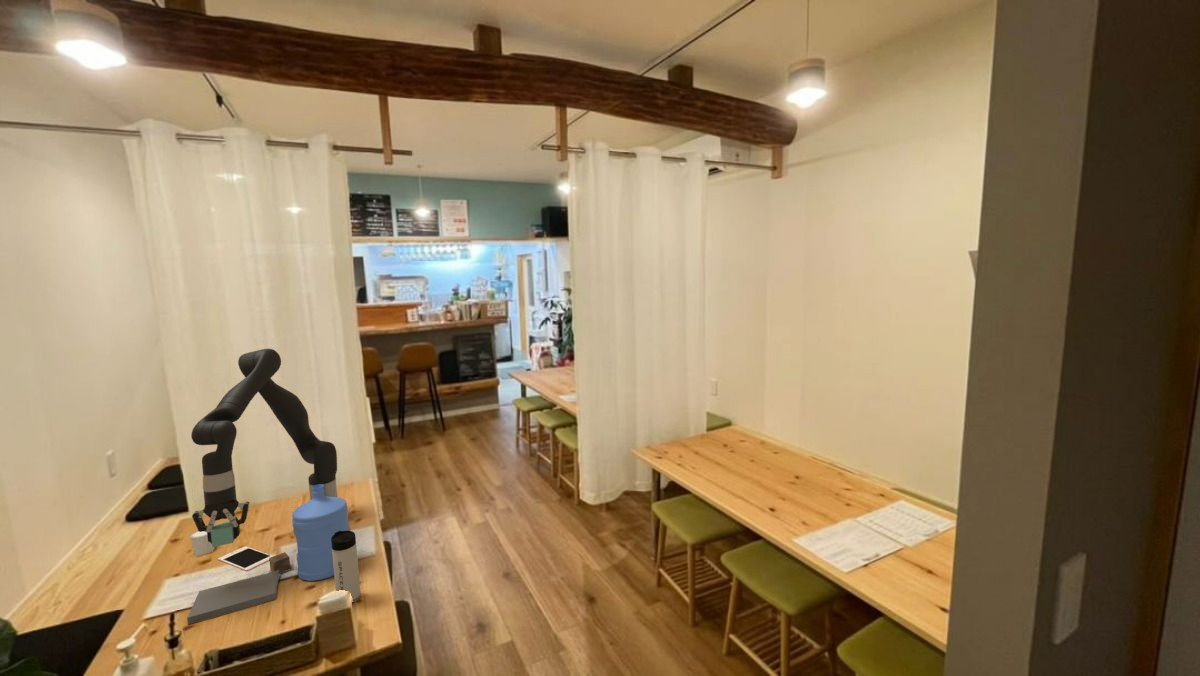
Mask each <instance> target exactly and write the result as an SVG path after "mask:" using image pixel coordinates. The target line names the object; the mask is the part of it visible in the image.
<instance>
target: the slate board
mask: <svg viewBox="0 0 1200 676" xmlns="http://www.w3.org/2000/svg"><path fill="white" fill-rule="evenodd" d="M279 580H280V574H279V570H277V571H274V572H271V571H270V572H266V573H262V574H258V575H256V576H251V577H249V578H248V577H247V578H244V579H240V580H236V581H233V582H229V583H225V584H221V585H218V586H214V587H210V588H206V589H202V590H199V592H198V593H197V595H196V598H195V600H194V602H193V604H192V606H191V609H190V611H189V614H188V615H187V618H186V619H187V625H192V624H195V623H199V622H202V621H206V620H209V619H213V618H217V617H220V616H222V615H225V614H226V615H227V614H230V613H234V612H237V611H240V610H243V609H247V608H250V607H253V606H257V605H260V604H265V603H268V602H271V601H274V600H276V597H277V591H278V586H279Z"/></svg>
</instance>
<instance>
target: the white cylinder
mask: <svg viewBox="0 0 1200 676" xmlns="http://www.w3.org/2000/svg"><path fill="white" fill-rule="evenodd" d="M189 538H190V542H191V546H192V550H193V554H194V556H198V557H200V556H204V555H207V554H210V553H212V552H213V551H214V550H215V547H212V544H211V542H208V537H207V532H205V531H202V532H199V531H198V530H197V531H195V532H193V533H191V535H189Z"/></svg>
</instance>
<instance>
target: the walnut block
mask: <svg viewBox="0 0 1200 676" xmlns="http://www.w3.org/2000/svg"><path fill="white" fill-rule="evenodd" d="M272 556H273V557H271V558H269V561H268V562H269V568H270V572H274V571H277V570H279V575H280V574H283V573H285V572H288V571H290V570H291V558H290V556H289V555H288V553H287V552H281V553H279V554H276V555H272Z"/></svg>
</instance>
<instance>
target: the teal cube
mask: <svg viewBox="0 0 1200 676" xmlns="http://www.w3.org/2000/svg"><path fill="white" fill-rule="evenodd" d="M211 539H212V547H221V546H225V545H229V544H234V542H235V539H234V535H233V525H232V523H231V522H230V521H226V522H220V523H215V524H214V527H213V528H212V530H211Z"/></svg>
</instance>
